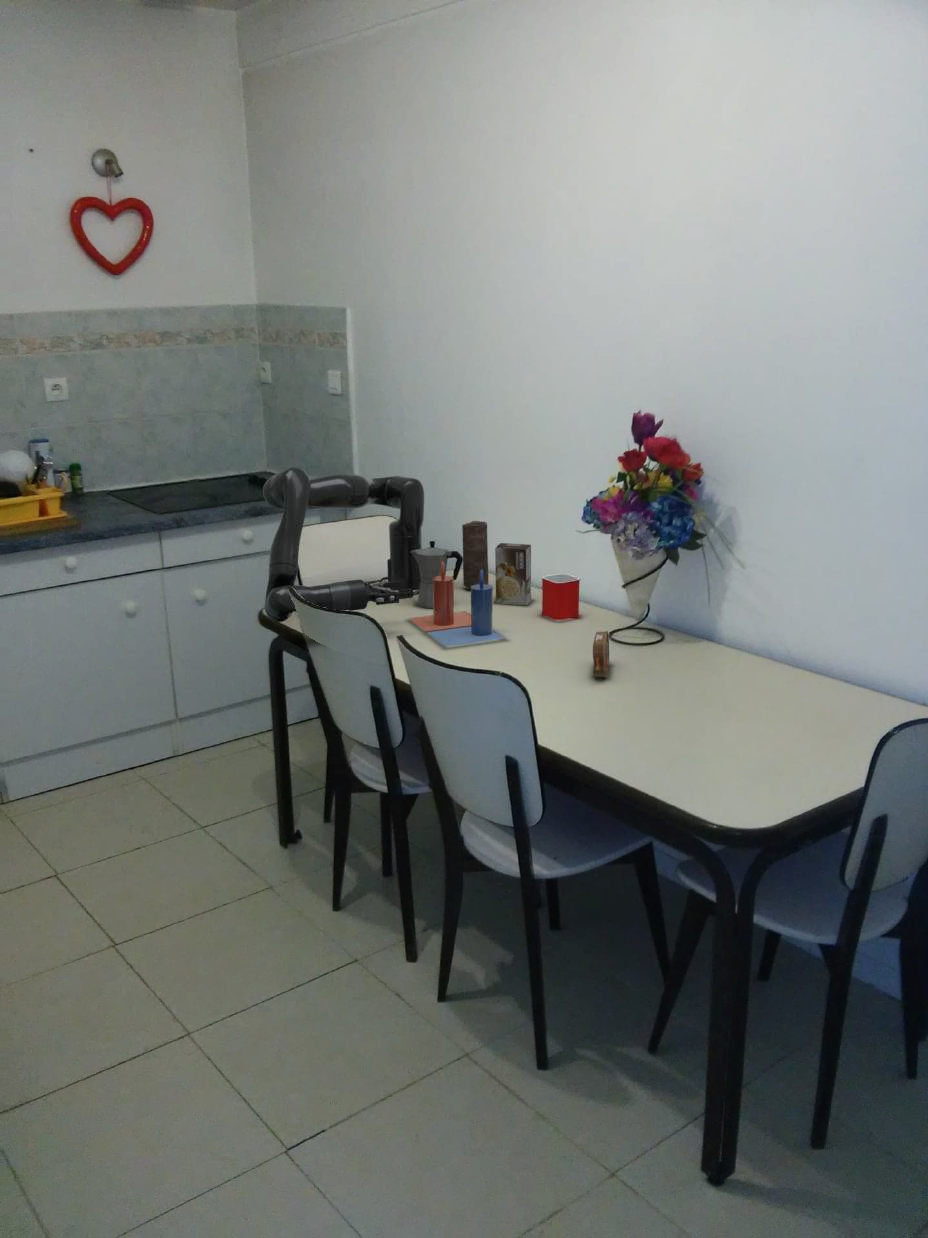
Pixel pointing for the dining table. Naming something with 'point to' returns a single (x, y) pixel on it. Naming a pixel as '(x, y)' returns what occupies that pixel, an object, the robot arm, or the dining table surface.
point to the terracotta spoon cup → (443, 599)
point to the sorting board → (453, 630)
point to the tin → (601, 654)
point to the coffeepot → (432, 570)
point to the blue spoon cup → (481, 608)
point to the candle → (475, 553)
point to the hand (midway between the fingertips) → (407, 588)
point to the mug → (560, 596)
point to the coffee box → (513, 573)
